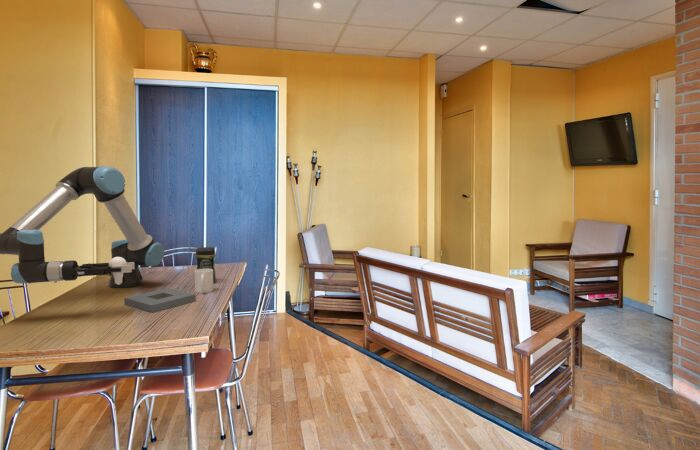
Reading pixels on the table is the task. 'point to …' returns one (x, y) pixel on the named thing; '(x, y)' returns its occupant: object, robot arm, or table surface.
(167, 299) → the socket plate
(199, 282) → the cup
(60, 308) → the table surface
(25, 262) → the robot arm
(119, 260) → the lightbulb
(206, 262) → the coffee jar
